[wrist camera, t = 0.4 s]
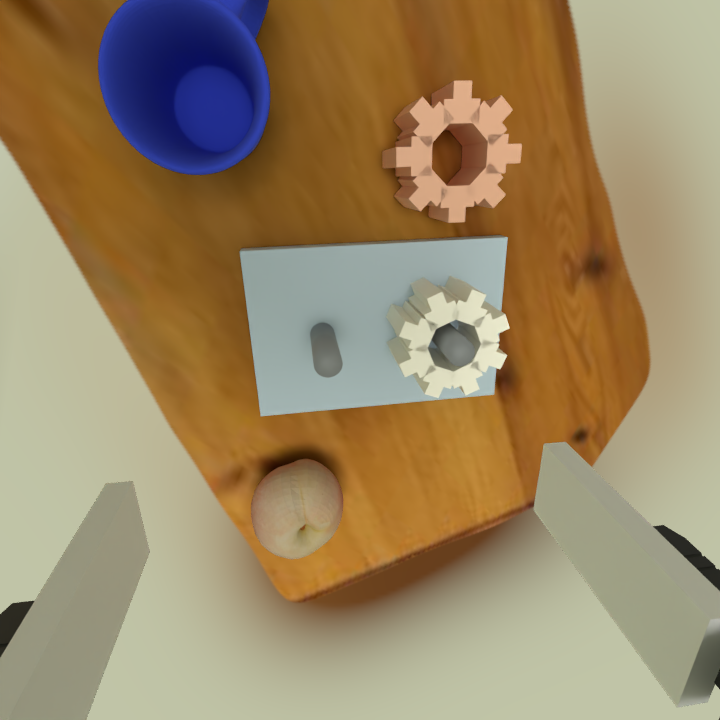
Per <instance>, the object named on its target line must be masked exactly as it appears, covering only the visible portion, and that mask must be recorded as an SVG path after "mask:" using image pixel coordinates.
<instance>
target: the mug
mask: <svg viewBox="0 0 720 720" xmlns="http://www.w3.org/2000/svg"><path fill="white" fill-rule="evenodd" d="M268 2H269V0H128V1H126V2H125V3H124V4H123V5H122V6H121V7H120V8H119V9H118V10H117V11H116V13H115V14H114V15H113V17H112V18H111V20H110V22H109V23H108V25H107V27H106V29H105V32H104V35H103V38H102V41H101V45H100V50H99V59H98V71H99V81H100V87H101V91H102V95H103V98H104V101H105V104H106V107H107V109H108V111H109V113H110V115H111V117H112V119H113V121H114V123H115V124H116V126H117V127H118V129H119V130H120V132H121V133H122V135H123V136H124V137H125V138H126V139H127V140H128V142H129V143H130V144H131V145H132V146H133V147H134V148H135V149H136V150H137V151H139V152H140V153H141V154H142V155H144V156H145V157H146V158H148V159H149V160H151V161H152V162H154V163H156V164H158V165H160V166H162V167H164V168H166V169H169V170H172V171H175V172H179V173H183V174H190V175H206V174H212V173H217V172H220V171H223V170H225V169H228V168H230V167H232V166H234V165H235V164H237V163H238V162H240V161H241V160H243V159H244V158H245V157H247V156H248V155H249V154H250V153H251V152H252V151H253V150H254V149H255V148H256V146H257V145H258V143H259V141H260V140H261V137H262V135H263V132H264V129H265V125H266V122H267V118H268V114H269V107H270V84H269V77H268V72H267V68H266V64H265V61H264V58H263V56H262V53H261V51H260V49H259V47H258V45H257V43H256V41H255V39H256V37H257V35H258V32H259V30H260V27H261V25H262V22H263V19H264V16H265V13H266V10H267V7H268Z"/></svg>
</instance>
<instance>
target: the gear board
mask: <svg viewBox="0 0 720 720" xmlns="http://www.w3.org/2000/svg"><path fill="white" fill-rule="evenodd" d="M507 239H508V237H505V236H501V235H491V236H472V237H452V238H433V239H414V240H394V241H375V242H355V243H336V244H317V245H297V246H278V247H258V248H242V249H241V250H240V258H241V266H242V274H243V282H244V289H245V297H246V305H247V313H248V320H249V328H250V336H251V344H252V352H253V359H254V367H255V375H256V383H257V391H258V398H259V406H260V414H261V416H269V415H280V414H291V413H301V412H312V411H323V410H333V409H344V408H355V407H366V406H376V405H387V404H398V403H408V402H419V401H430V400H441V399H451V398H462V397H473V396H483V395H494V388H495V377H496V368H495V367H492V366H489V367H488V369H487V371H486V372H482V371H481V372H482V375H483V376H480V377H478V378H476V381H477V383H478V386H479V390H477V391H475V392H472V393H470V394H468V395H466V396H465V394H464V393H463V392H462V390H461V389H460V388H459V387H457V388H455V389H454V388H453V386H452V387H451V389H449V388H445V387H443V389H442V392H441V394H440V396H439V398H436V397H433V396H429V395H426V394H424V392H423V391H422V389H421V387H420V386H419V384H418V383H417V381H416V379H415V378H414V376H413V374H411V375H409V376H407V377H404V375H403V373H402V371H401V369H400V368H399V366H398V364H397V362H396V361H395V359H394V357H393V355H392V353H391V351H390V349H389V347H388V345H387V343H386V342H387V341H389V340H391V339H394V338H396V337H397V336H396V333H395V330H394V328H393V327H392V325H391V324H390V322H389V321H388V319H387V318H386V316H387V313H388V311H389V308H390V306H391V304H394V305H397V306H400V307H403V305H404V302H405V301H408V302H409V299H408V297H411V296H413V295H414V292H413V290H412V287H411V285H410V283H412V282H415V281H417V280H419V279H421V278H423V277H424V278H425V279H427V280H428V281H429V282H431V283H432V284H433V285H435V286H437V287H438V285H440V286H443V287H445V285H446V283H447V281H448V279H449V276H452V277H455V278H458V279H460V280H463V281H465V282H466V283H468V284H470V285H471V286H473V287H474V288H476V289H478V290H479V291H481V292H483V293H484V294H486V297H485V299H484V301H486V302H487V303H489V304H490V305H492V306H493V307H495V308H496V309H498V310H500V311H501V308H502V296H503V285H504V273H505V262H506V250H507ZM458 325H459V324H458V321H457V320H454V321H452V322H450V323H448V324H446V325H443V326H441V327H439V328H437V329H436V330H435V333H434V335H433V337H432V340H431V342H430V344H429V346H428V347H430V348H433V349H435V348H437V347H438V348H439V350H440V351H441V352H442V353H443V354H444V355H445V357H446V358H447V359H448V360H449V361H450V362H451V363H452V364H453V365H455V366H464V365H467V364H468V363H470V362H471V361H472V359H473V357H474V355H475V348H474V346H473V344H472V343H471V342H470V341H469V340H468V339H466V338H465V337H464V336H463V335H462V334H461V333H460V332H459V331H458V330H457V327H458ZM498 337H499V333H498ZM498 342H499V341H498ZM498 342H497V343H498Z"/></svg>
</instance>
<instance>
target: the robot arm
mask: <svg viewBox="0 0 720 720" xmlns="http://www.w3.org/2000/svg"><path fill="white" fill-rule="evenodd" d="M534 511H535V513H536V514H537V516H538V517H539V518H540V520H541V521H542V522H543V524H544V525H545V527H546V528H547V529H548V531H549V532H550V533H551V535H552V536H553V538H554V539H555V540H556V542H557V543H558V544H559V546H560V547H561V548H562V550H563V551H564V552H565V554H566V555H567V557H568V558H569V560H570V561H571V562H572V564H573V565H574V566H575V568H576V569H577V571H578V572H579V573H580V575H581V576H582V577H583V579H584V580H585V582H586V583H587V584H588V586H589V587H590V589H591V590H592V591H593V593H594V594H595V595H596V597H597V598H598V599H599V601H600V602H601V604H602V605H603V606H604V608H605V609H606V610H607V612H608V613H609V615H610V616H611V617H612V619H613V620H614V622H615V623H616V624H617V626H618V627H619V628H620V630H621V631H622V633H623V634H624V635H625V637H626V638H627V639H628V641H629V642H630V644H631V645H632V646H633V648H634V649H635V650H636V652H637V653H638V655H639V656H640V657H641V659H642V660H643V661H644V663H645V664H646V665H647V667H648V668H649V670H650V671H651V673H652V674H653V675H654V677H655V678H656V679H657V681H658V682H659V684H660V685H661V686H662V688H663V689H664V690H665V692H666V693H667V695H668V696H669V697H670V699H671V700H672V701H673V703H674V704H675V705H676V707H683V706H689V705H695V704H700V703H706V702H708V700H709V697H710V695H711V692H712V690H713V688H714V685H715V684H716V685H717V687H718V688H719V689H720V570H719V569H716V568H715V565H714V564H713V563H711V562H710V561H709V560H708V559H707V558H706V557H705V556H702V554H701V552H700V551H699V550H697V549H696V548H695V547H694V546H693V545H692V544H691V543H690V542H689V541H688V540H687V539H685V538H684V537H682V536H681V535H679V534H677V533H676V532H674V531H672V530H671V529H669V528H667V527H666V526H664V525H661V526H651V524H650V523H649V522H648V521H647V520H646V519H645V518H644V517H642V516H641V515H640V514H639V513H638V512H637V511H636V510H635V509H634V508H633V507H632V506H631V505H630V504H629V503H628V502H627V501H626V500H625V499H624V498H623V497H622V496H621V495H620V494H619V493H618V492H617V491H616V490H614V489H613V487H611V486H610V485H609V484H608V483H607V482H606V481H605V480H604V479H603V478H602V477H601V476H600V475H599V474H598V473H597V472H596V471H595V470H594V469H593V468H592V467H591V466H590V465H589V464H588V463H587V462H586V461H585V460H584V459H583V458H582V457H580V456H579V455H578V454H577V453H576V452H575V451H574V450H573V449H572V448H571V447H570V446H569V445H568V444H567V443H566V442H558V443H547V444H544V447H543V453H542V460H541V466H540V472H539V478H538V485H537V491H536V497H535V504H534ZM149 553H150V551H149V547H148V543H147V538H146V535H145V530H144V526H143V521H142V517H141V513H140V509H139V505H138V501H137V496H136V492H135V488H134V484H133V481H129V482H118V483H107V484H105V486H104V488H103V489H102V491H101V493H100V494H99V496H98V498H97V499H96V501H95V502H94V504H93V506H92V507H91V509H90V511H89V512H88V514H87V516H86V517H85V519H84V521H83V522H82V524H81V525H80V527H79V529H78V530H77V532H76V534H75V535H74V537H73V539H72V540H71V542H70V544H69V545H68V547H67V549H66V550H65V552H64V554H63V555H62V557H61V559H60V560H59V562H58V564H57V565H56V567H55V568H54V570H53V572H52V573H51V575H50V577H49V578H48V580H47V582H46V583H45V585H44V587H43V588H42V590H41V592H40V593H39V595H38V596H37V598H36V600H35V601H28V602H19V603H13V604H11V605H10V606H9V607H8V608H7V609H6V610H5V611H3V612H2V613H1V614H0V720H86V719H87V716H88V714H89V711H90V708H91V705H92V703H93V700H94V698H95V695H96V692H97V690H98V687H99V685H100V682H101V679H102V677H103V674H104V671H105V669H106V666H107V663H108V661H109V658H110V655H111V653H112V650H113V648H114V645H115V642H116V640H117V637H118V634H119V632H120V629H121V626H122V624H123V621H124V618H125V616H126V613H127V611H128V608H129V605H130V603H131V600H132V598H133V595H134V592H135V590H136V587H137V584H138V582H139V579H140V576H141V574H142V571H143V568H144V566H145V563H146V560H147V558H148V555H149ZM719 720H720V718H719Z"/></svg>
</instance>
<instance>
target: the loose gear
mask: <svg viewBox="0 0 720 720" xmlns="http://www.w3.org/2000/svg"><path fill="white" fill-rule="evenodd" d="M471 96H472V81H453V82H451V83H449V84H448V85H446V86H444V87H443V88H441V89H439V90H438V91H436V92H434V93H432V101H431V106H430V105H429V103H428V102H427V101H426V100H425V99H424V98H423V96H422V97H421V98H419V99H417V100H416V101H414V102H413V103H411V104H409V105H408V106H406V107H405V108H404V109H403V110H402V111H401V112H400V113H399V115H398V116H397V117H396V118H395V119H394V120H393V121H394V122H395V123H396V124H397V125H398V127H399V128H400V129H401V130H402V132H401V134H400V135H399V136H398V137H397V138H398V139H399V140H400V141H397V142H395V148H391V149H388V150H384V151H382V156H383V168H396V176H400V178H399V179H398V180H397V181H398V182H399V183H400V184H401V185H402V187H401V188H400V189H399V190H398V192H397V193H396V194H395V195H394V197H395V198H396V199H397V200H398V201H399V202H400V203H401V204H402V205H403V206H404V207H406V208H410V209H413V210H417V211H421V210H422V209H423V208H424V207H425V206H426V205H428V206H429V217H431V218H434V219H437V220H441V221H444V222H448V223H453V222H465V211H466V207H474V205H476V206H482V207H488V208H494V207H495V206H496V205H497V204H498V203H499V202H500V201H501V200H502V199H503V197H504V196H505V195H506V194H505V193H504V192H503V191H502V190H501V189H500V187H499V186H498V185H497V184H498V183H499V182H500V181H501V180H502V179H503V176H502V175H501V174H500V173H505V172H506V164H513V163H520V159H521V149H522V144H508V135H509V134H503V133H504V132H505V131H506V130H507V128H506V127H505V126H504V125H503V123H502V121H503V120H504V119H505V118H506V117H507V116H508V115H509V114H510V113H511V112H512V110H513V109H512V108H511V107H510V105H509V104H508V103H507V102H506V100H505V99H504V98H503V96H502V95H501V96H498V97H496V98H493V99H491V100H488V101H486V102H485V101H482V102H480V99H471ZM443 130H449V131H450V132H451V134H452V135H453V136H454V137H455V138H456V139H457V141H458V142H459V143H460V144H461V145H462V161H461V169H460V170H459V171H458V172H457V173H456V175H455V176H454V177H453V178H452V179H451V180H450V181H449V182H448V183H447V184H445V183H444V182H443V181H442V180H441V179H440V178H439V177H438V175H437V174H436V173H435V172H434V171H433V170H432V143H433V142H434V141H435V139H436V138H437V137H438V136H439V135H440V134H441V133H442V132H443Z"/></svg>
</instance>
